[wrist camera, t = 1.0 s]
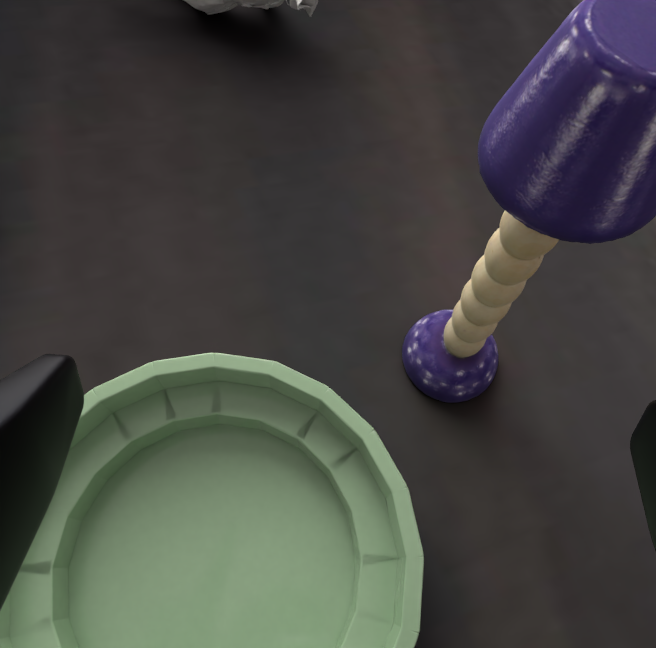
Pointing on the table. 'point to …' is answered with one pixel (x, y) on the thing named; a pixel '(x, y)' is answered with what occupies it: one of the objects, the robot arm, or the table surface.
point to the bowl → (221, 520)
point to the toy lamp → (551, 179)
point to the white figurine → (249, 5)
